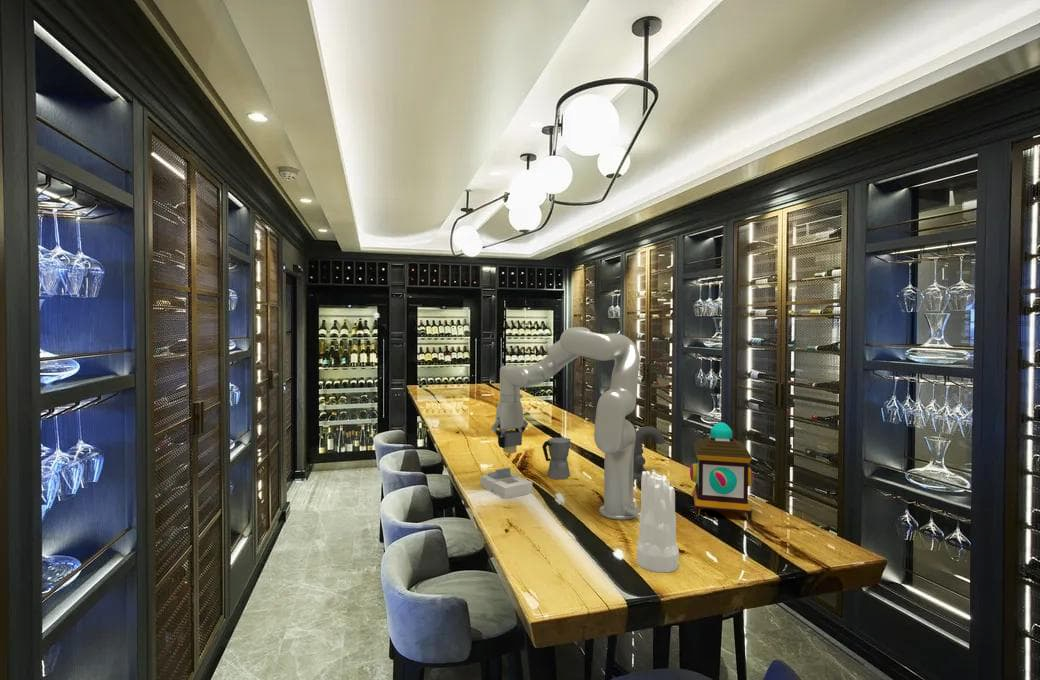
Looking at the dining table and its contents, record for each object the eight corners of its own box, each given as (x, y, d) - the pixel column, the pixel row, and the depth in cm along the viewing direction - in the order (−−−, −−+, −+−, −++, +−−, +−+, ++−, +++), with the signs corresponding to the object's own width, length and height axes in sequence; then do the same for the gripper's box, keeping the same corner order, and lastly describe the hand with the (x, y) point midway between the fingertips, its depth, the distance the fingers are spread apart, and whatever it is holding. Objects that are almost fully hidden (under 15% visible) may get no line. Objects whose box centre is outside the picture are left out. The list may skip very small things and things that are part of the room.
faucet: (670, 480, 212) (670, 430, 212) (630, 479, 213) (631, 430, 212) (659, 467, 230) (659, 422, 230) (623, 467, 231) (623, 422, 230)
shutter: (511, 476, 204) (511, 468, 204) (496, 479, 200) (496, 470, 200) (501, 472, 210) (501, 464, 209) (487, 474, 206) (487, 466, 206)
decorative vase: (671, 553, 145) (671, 464, 144) (684, 572, 135) (685, 475, 134) (632, 554, 145) (632, 464, 144) (642, 573, 134) (643, 476, 133)
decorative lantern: (747, 502, 186) (749, 418, 185) (757, 523, 167) (758, 429, 165) (688, 497, 191) (689, 415, 190) (690, 517, 172) (691, 426, 171)
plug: (521, 452, 197) (521, 432, 197) (507, 455, 193) (507, 434, 193) (512, 449, 202) (512, 429, 202) (497, 451, 199) (497, 431, 198)
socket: (532, 492, 197) (532, 482, 196) (505, 499, 190) (505, 488, 190) (506, 480, 212) (506, 470, 211) (480, 486, 205) (480, 475, 205)
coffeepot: (562, 470, 225) (562, 429, 225) (578, 475, 218) (578, 432, 217) (535, 477, 216) (535, 434, 215) (550, 483, 208) (550, 438, 208)
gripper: (523, 395, 205) (523, 441, 206) (484, 399, 195) (484, 447, 196) (534, 397, 199) (534, 445, 199) (495, 401, 189) (495, 451, 190)
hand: (509, 445), depth 198 cm, fingers closed on plug, 6 cm apart
